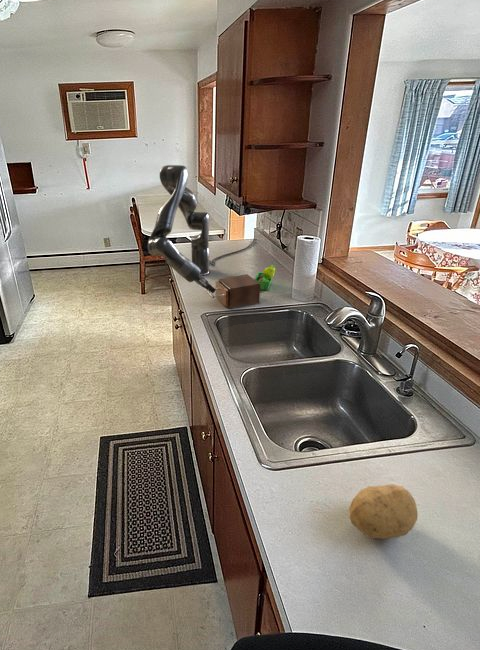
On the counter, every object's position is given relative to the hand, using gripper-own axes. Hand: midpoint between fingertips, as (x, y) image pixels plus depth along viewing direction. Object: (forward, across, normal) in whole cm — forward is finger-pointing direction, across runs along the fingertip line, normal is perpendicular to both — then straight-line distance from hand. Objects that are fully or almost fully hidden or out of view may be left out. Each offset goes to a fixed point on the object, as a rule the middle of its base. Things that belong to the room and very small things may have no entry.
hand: (213, 291), depth 174 cm
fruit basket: (+27, +9, -17) cm, 33 cm away
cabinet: (+14, 0, -4) cm, 14 cm away
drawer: (+9, 0, -1) cm, 9 cm away
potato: (-2, -108, +12) cm, 109 cm away
